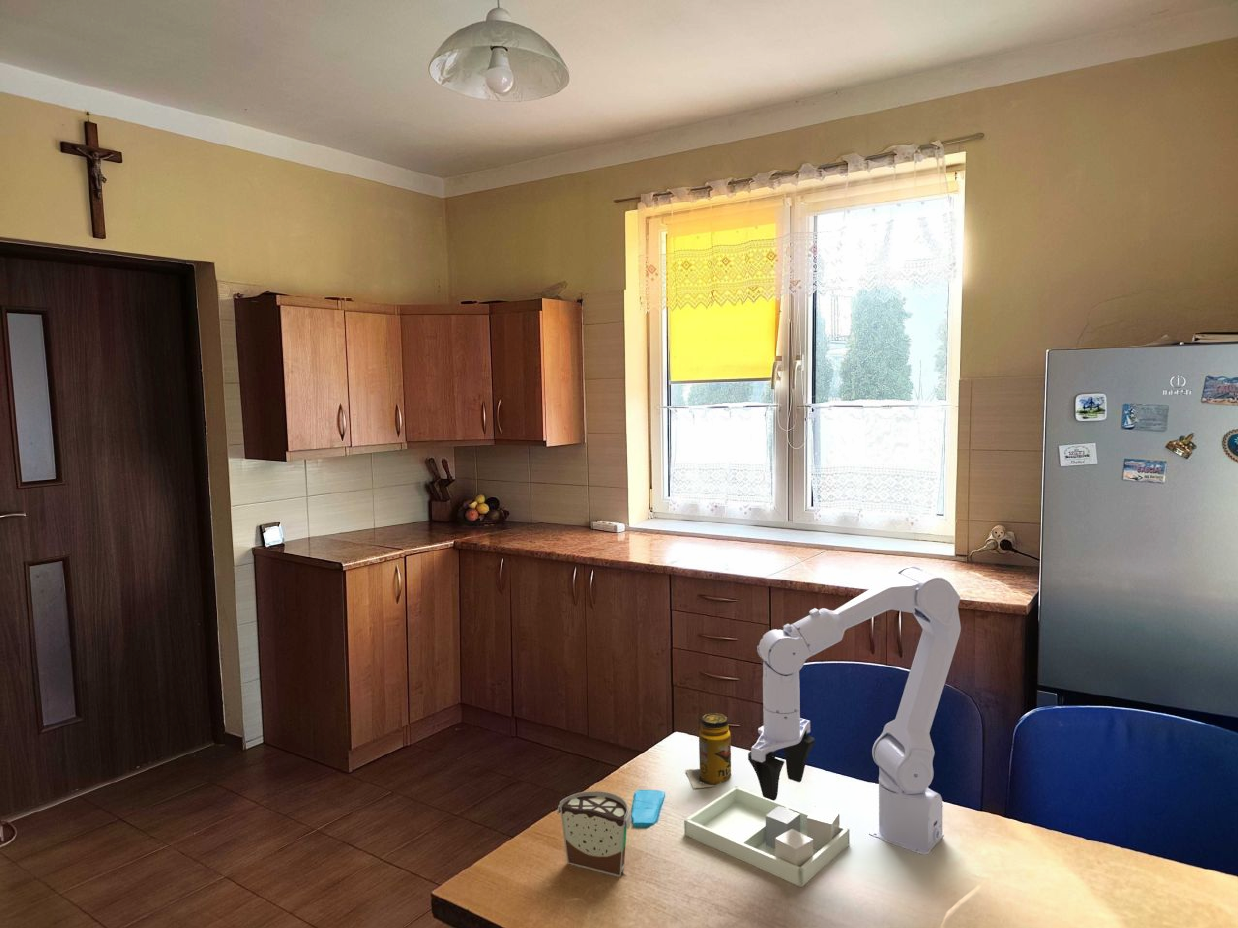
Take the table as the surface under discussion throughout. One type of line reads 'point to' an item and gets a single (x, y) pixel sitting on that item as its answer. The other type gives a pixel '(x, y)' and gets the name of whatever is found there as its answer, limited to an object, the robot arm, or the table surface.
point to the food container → (595, 830)
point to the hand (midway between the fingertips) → (782, 788)
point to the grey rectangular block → (780, 823)
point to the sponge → (646, 807)
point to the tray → (756, 834)
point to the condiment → (712, 752)
